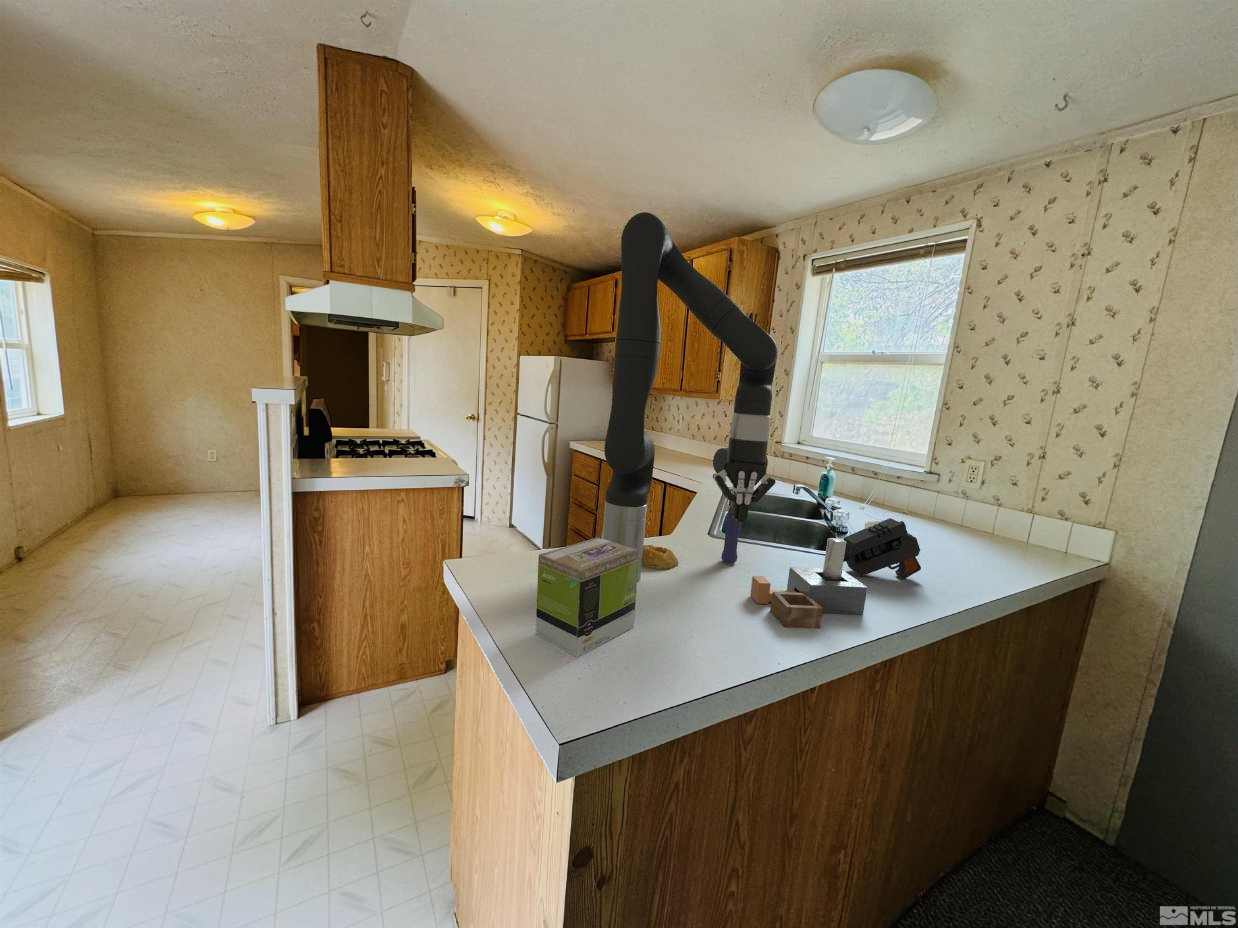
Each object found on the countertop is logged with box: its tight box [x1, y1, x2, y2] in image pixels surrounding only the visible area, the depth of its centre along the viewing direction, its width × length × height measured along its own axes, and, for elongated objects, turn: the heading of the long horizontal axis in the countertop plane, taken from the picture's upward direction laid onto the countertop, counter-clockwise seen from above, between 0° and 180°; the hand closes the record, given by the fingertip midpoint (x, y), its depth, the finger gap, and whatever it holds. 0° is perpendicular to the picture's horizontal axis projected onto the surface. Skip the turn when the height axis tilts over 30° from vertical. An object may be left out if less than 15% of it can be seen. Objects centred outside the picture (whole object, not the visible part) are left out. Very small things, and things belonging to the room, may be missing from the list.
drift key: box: [749, 575, 797, 605], centre depth 104 cm, size 9×4×4 cm, turn 95°
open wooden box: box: [769, 592, 823, 629], centre depth 96 cm, size 7×7×4 cm
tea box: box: [535, 536, 639, 658], centre depth 84 cm, size 15×10×15 cm, turn 141°
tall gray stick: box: [822, 537, 846, 582], centre depth 104 cm, size 4×4×14 cm
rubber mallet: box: [712, 447, 769, 566], centre depth 123 cm, size 12×8×30 cm, turn 113°
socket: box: [786, 566, 868, 616], centre depth 105 cm, size 12×10×6 cm
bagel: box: [642, 544, 679, 570], centre depth 121 cm, size 10×11×5 cm
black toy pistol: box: [843, 517, 922, 580], centre depth 125 cm, size 6×19×15 cm, turn 89°
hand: (739, 521), depth 101 cm, fingers closed
